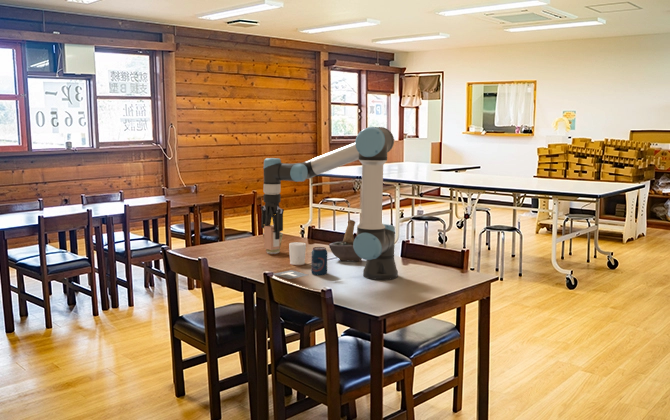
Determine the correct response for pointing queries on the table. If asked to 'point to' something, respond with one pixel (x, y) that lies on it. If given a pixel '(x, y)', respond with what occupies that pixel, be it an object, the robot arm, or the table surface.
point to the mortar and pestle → (346, 245)
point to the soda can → (319, 261)
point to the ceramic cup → (275, 249)
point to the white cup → (297, 253)
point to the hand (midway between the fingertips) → (272, 245)
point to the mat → (290, 274)
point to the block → (269, 238)
